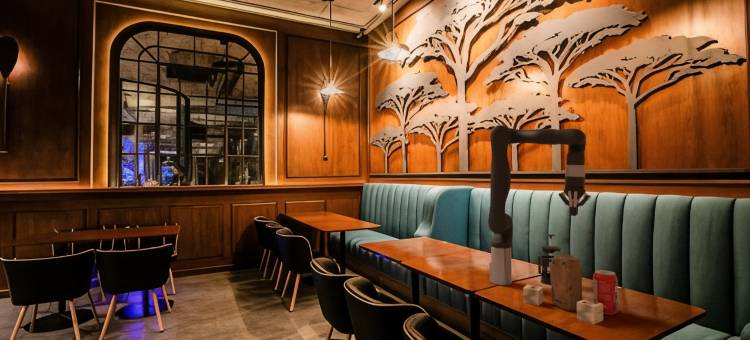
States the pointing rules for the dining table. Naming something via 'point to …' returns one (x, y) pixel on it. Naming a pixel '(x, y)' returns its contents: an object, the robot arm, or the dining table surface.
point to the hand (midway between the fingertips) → (573, 215)
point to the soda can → (606, 290)
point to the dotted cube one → (533, 295)
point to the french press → (546, 249)
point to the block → (566, 281)
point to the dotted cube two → (590, 311)
